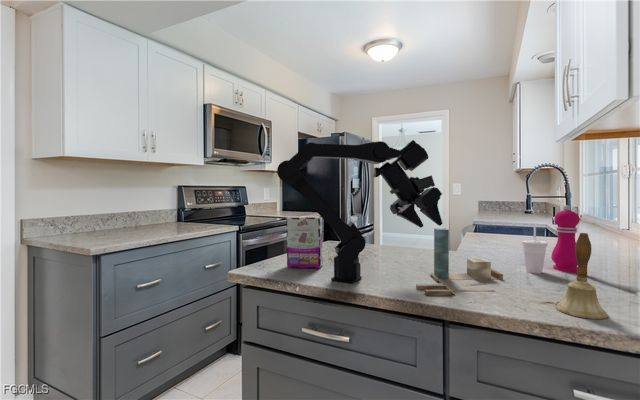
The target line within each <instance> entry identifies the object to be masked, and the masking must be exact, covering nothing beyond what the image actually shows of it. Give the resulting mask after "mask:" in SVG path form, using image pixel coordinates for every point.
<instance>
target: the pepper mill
mask: <svg viewBox="0 0 640 400" xmlns="http://www.w3.org/2000/svg"><path fill="white" fill-rule="evenodd" d="M562 209H563V210H559V211H558V212H556V213H555V215H554V217H553V218H554V219H553V220H554V223H555V224H556V225H557V226H555V227H556V230H555V231H556V232H557V240H556V243H555V246H554V248H553V250H552V251H551V257H550V258H551V260H552V261H553V263H554V264H553V265H552V268H553V270H556V271H559V272H560V271H561V272H565V273H566V272H568V273H571V274H575V275H577V269H578V262H577V258H576V254H575V245H576V242H577V241H576V233H578V227H577V226H578V224H580V216H579V214H578V213H577V212H575V211H573V210H571V206H570V205H569V204H566V205H564V206H563V207H562Z"/></svg>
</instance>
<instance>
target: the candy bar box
mask: <svg viewBox="0 0 640 400" xmlns="http://www.w3.org/2000/svg"><path fill="white" fill-rule="evenodd" d="M285 221H286V268H288V269H289V268H290V269H321V268H322V267H323V265H324V264H323V263H324V258H323V257H324V256H323V255H324V254H323V252H324V251H323V218H322V217H321V216H320V215H318V216H317V215H316V216H315V215H314V216H313V215H312V216H310V215H309V216H306V215H305V216H288V217H286V219H285Z"/></svg>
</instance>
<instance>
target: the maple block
mask: <svg viewBox="0 0 640 400" xmlns="http://www.w3.org/2000/svg"><path fill="white" fill-rule="evenodd" d="M491 269H492V262H491V261H490V260H488V259H486V258H482V257H481V258H479V257H477V258H476V257H475V258H472V257H471V258H466V273H467V275H469V276H470V277H472V278H473V279H491Z"/></svg>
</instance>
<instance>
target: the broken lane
mask: <svg viewBox="0 0 640 400" xmlns="http://www.w3.org/2000/svg"><path fill="white" fill-rule="evenodd" d="M462 286H464V287H471V286H487V284H486V283H484V282H483V283H482V282H481V283H469V284H468V283H467V284H465V283H463V284H462ZM448 287H450V284H449V283H448V284H447V283H446V284H442V283H433V284H432V283H431V284H430V283H427V284H426V283H424V284H422V283H421V284H419V283H418V284H415V289H416V290H417V291H418V290H420V291H422V290H423V291H424V295H425V296H454V297H455V296H456V294H455V293H454V292H458V293H459V292H465V293H466V292H468V293H469V292H473V293H474V292H477V293H478V292H479V293H481V292H482V293H483V292H485V293H486V292H488V293H489V292H490V293H493V292H494V293H495V292H496V290H494V289H449V288H448Z"/></svg>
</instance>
